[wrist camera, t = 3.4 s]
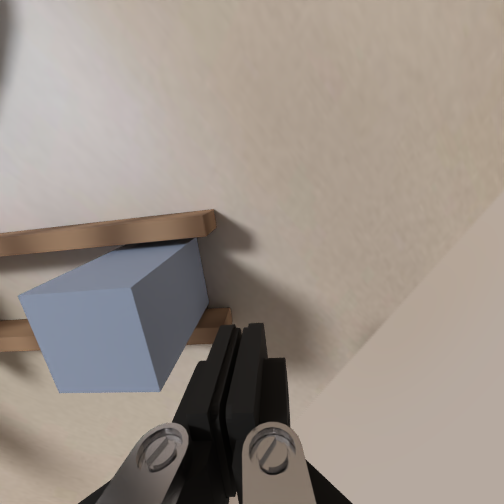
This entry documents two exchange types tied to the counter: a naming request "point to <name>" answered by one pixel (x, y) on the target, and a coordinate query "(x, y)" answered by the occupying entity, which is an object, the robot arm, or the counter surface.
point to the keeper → (119, 317)
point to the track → (108, 234)
